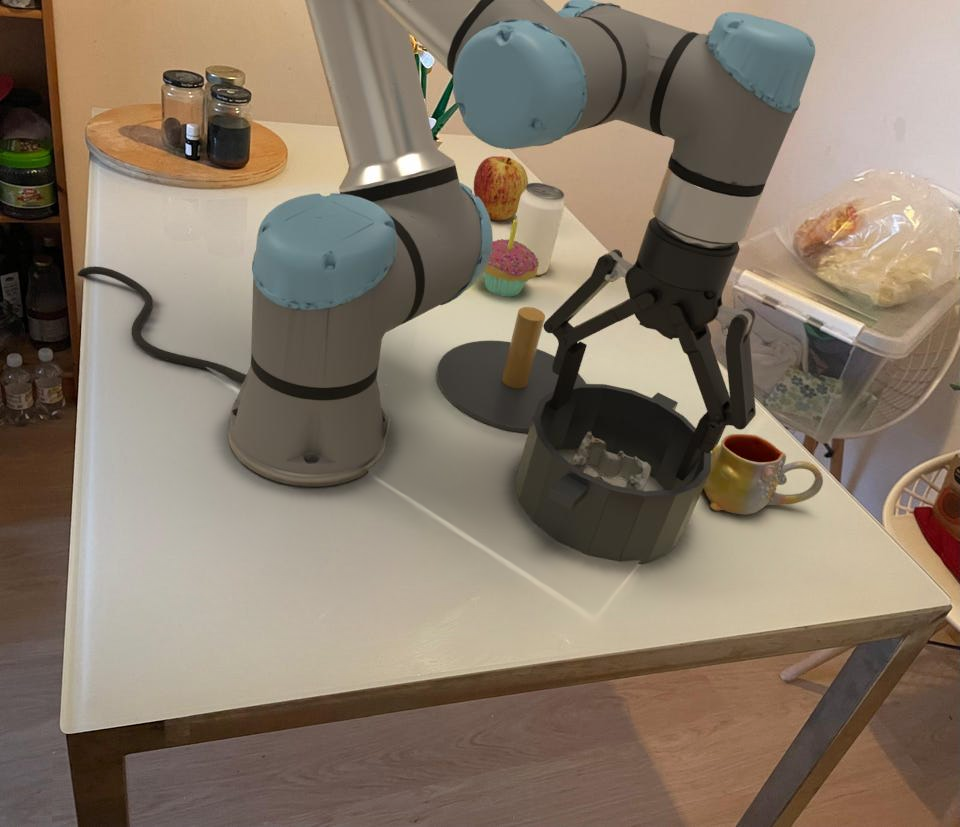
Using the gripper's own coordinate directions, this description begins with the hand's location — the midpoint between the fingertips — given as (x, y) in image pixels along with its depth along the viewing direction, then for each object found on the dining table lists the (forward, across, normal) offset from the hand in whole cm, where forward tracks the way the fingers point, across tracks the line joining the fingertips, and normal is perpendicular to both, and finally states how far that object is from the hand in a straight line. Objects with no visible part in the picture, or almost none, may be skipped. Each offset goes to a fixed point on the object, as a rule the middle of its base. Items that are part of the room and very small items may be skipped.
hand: (619, 437), depth 79 cm
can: (+8, +34, -40) cm, 53 cm away
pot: (+8, 0, 0) cm, 8 cm away
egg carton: (+8, 0, 0) cm, 8 cm away
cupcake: (+8, +32, -30) cm, 45 cm away
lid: (+8, +17, -10) cm, 21 cm away
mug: (+8, -12, -13) cm, 20 cm away
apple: (+9, +48, -52) cm, 71 cm away
